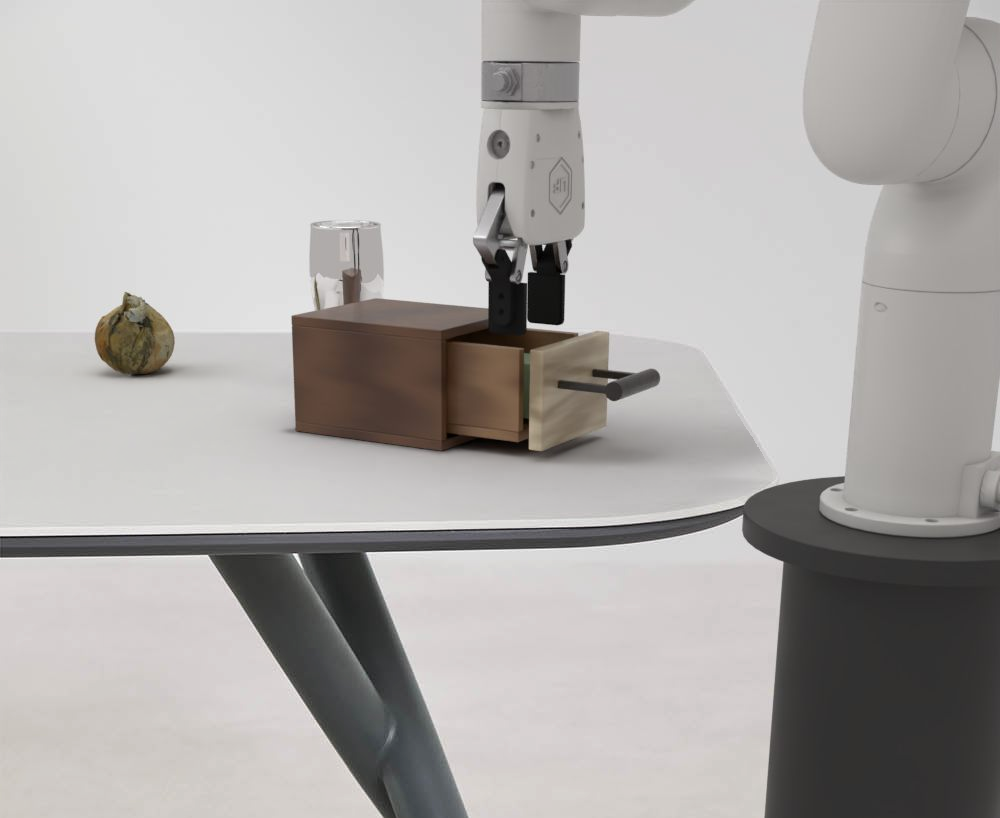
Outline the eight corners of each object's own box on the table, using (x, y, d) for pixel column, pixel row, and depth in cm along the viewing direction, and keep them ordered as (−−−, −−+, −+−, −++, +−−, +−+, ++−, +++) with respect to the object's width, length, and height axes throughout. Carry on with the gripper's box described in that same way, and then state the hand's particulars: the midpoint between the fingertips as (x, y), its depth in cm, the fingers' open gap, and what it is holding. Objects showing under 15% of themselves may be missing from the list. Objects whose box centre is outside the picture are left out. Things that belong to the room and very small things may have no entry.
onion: (194, 371, 171) (189, 289, 168) (132, 382, 165) (125, 297, 162) (144, 362, 175) (139, 282, 172) (82, 373, 170) (75, 290, 166)
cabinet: (518, 424, 149) (519, 311, 145) (441, 451, 138) (441, 330, 135) (377, 406, 155) (375, 298, 152) (295, 431, 145) (290, 315, 141)
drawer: (669, 433, 141) (673, 337, 138) (607, 460, 132) (610, 358, 129) (468, 409, 150) (469, 318, 147) (397, 432, 141) (396, 336, 138)
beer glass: (324, 395, 160) (319, 228, 154) (304, 382, 166) (299, 221, 160) (395, 390, 162) (393, 226, 157) (373, 377, 168) (370, 219, 163)
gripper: (517, 91, 123) (514, 347, 129) (623, 87, 136) (615, 319, 143) (429, 89, 126) (430, 338, 133) (540, 85, 140) (537, 312, 147)
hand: (526, 326), depth 138 cm, fingers open, 5 cm apart
